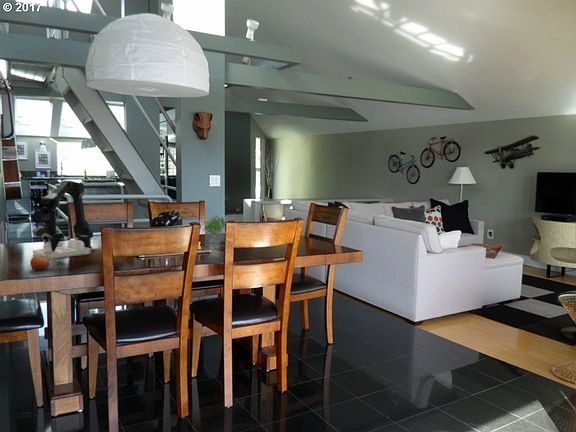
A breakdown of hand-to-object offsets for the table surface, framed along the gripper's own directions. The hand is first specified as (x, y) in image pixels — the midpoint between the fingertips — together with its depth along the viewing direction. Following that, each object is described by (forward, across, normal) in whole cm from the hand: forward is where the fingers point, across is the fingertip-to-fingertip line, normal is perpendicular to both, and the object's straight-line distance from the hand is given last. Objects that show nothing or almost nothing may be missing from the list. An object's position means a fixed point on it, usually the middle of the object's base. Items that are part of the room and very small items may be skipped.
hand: (51, 250), depth 242 cm
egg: (+2, 0, 0) cm, 2 cm away
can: (+4, -39, +17) cm, 42 cm away
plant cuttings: (+4, +25, +96) cm, 99 cm away
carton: (+4, -4, +8) cm, 9 cm away
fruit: (+4, +26, -16) cm, 31 cm away
